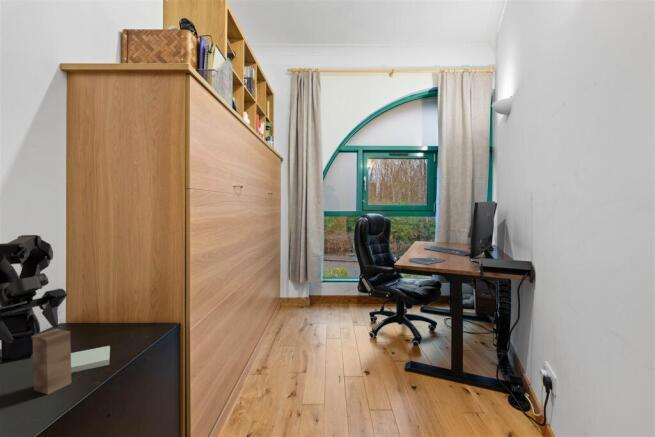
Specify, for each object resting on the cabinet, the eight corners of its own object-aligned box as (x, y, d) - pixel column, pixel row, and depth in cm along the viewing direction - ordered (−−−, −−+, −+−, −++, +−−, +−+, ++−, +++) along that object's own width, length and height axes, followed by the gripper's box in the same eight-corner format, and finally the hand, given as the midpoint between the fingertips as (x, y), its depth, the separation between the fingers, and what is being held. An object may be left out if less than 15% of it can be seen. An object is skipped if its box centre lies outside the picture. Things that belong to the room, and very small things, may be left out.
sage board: (61, 375, 82) (61, 369, 82) (67, 359, 90) (67, 353, 90) (108, 364, 87) (108, 359, 87) (109, 350, 95) (109, 345, 95)
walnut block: (33, 390, 75) (32, 336, 74) (57, 379, 80) (56, 328, 79) (47, 394, 73) (46, 339, 73) (71, 383, 78) (70, 331, 77)
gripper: (-33, 272, 70) (-2, 328, 67) (62, 259, 88) (90, 303, 84) (-51, 303, 73) (-22, 358, 70) (44, 284, 90) (71, 328, 87)
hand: (35, 334), depth 78 cm, fingers open, 9 cm apart
